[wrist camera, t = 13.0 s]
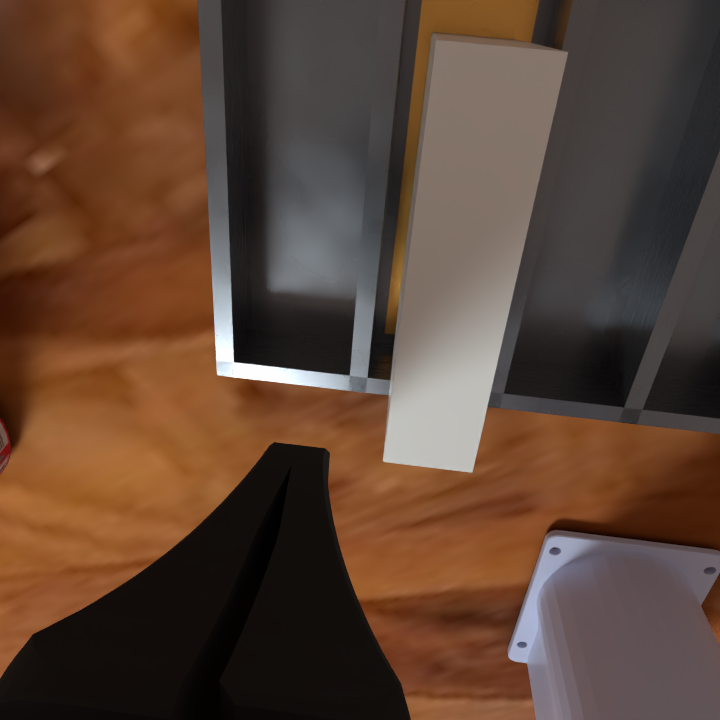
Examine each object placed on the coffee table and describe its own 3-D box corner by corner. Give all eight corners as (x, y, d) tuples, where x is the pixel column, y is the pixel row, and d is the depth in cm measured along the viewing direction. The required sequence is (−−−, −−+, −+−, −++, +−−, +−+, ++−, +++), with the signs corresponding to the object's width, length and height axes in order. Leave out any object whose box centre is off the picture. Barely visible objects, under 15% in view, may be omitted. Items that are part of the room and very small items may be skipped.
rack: (729, 384, 23) (780, 446, 20) (243, 329, 24) (214, 379, 20) (924, -31, 16) (1053, -43, 13) (233, -90, 17) (187, -115, 14)
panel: (459, 346, 22) (472, 472, 16) (394, 339, 22) (382, 461, 16) (516, 39, 17) (568, 52, 11) (431, 31, 17) (435, 39, 11)
